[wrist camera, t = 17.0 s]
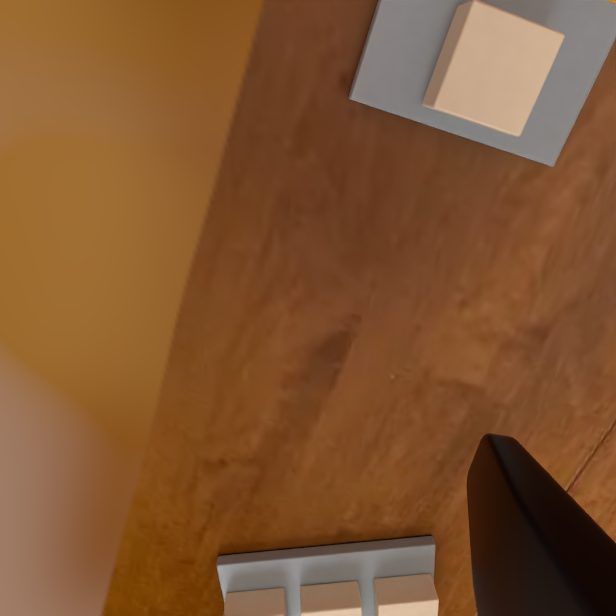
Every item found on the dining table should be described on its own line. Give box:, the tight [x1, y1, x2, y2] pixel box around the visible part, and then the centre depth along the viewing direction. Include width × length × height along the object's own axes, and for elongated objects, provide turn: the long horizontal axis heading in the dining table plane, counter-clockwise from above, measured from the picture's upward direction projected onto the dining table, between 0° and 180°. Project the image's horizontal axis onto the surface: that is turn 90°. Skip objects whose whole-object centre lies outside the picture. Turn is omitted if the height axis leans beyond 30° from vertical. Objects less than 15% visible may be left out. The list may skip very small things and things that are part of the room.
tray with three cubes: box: [216, 536, 439, 616], centre depth 26 cm, size 11×7×2 cm, turn 94°
